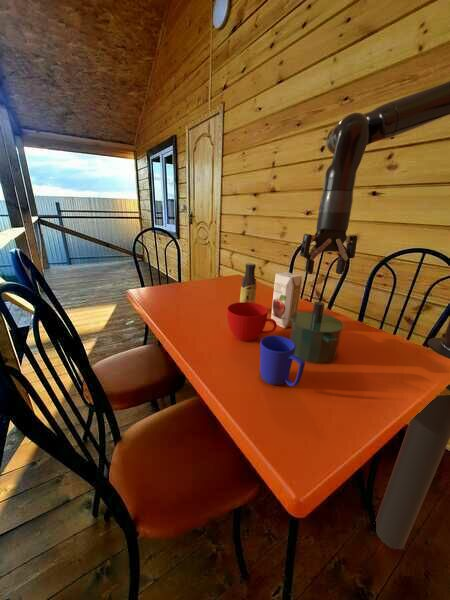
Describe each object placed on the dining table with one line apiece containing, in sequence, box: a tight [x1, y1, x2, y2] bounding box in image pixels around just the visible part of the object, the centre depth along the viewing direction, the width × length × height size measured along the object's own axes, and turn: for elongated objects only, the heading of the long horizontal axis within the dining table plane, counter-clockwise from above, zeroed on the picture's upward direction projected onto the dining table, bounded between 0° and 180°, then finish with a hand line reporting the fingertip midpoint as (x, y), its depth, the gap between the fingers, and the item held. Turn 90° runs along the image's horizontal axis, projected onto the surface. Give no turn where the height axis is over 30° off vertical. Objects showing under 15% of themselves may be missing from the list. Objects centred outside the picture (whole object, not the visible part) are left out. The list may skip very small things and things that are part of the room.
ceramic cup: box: [226, 301, 278, 342], centre depth 82 cm, size 13×17×10 cm
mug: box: [259, 335, 306, 387], centre depth 61 cm, size 8×12×10 cm
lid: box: [291, 301, 345, 334], centre depth 73 cm, size 15×15×7 cm
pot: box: [289, 323, 342, 364], centre depth 76 cm, size 14×19×10 cm
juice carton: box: [270, 271, 303, 329], centre depth 93 cm, size 8×9×19 cm
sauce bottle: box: [239, 262, 257, 303], centre depth 104 cm, size 6×6×20 cm
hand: (324, 273), depth 69 cm, fingers open, 8 cm apart
